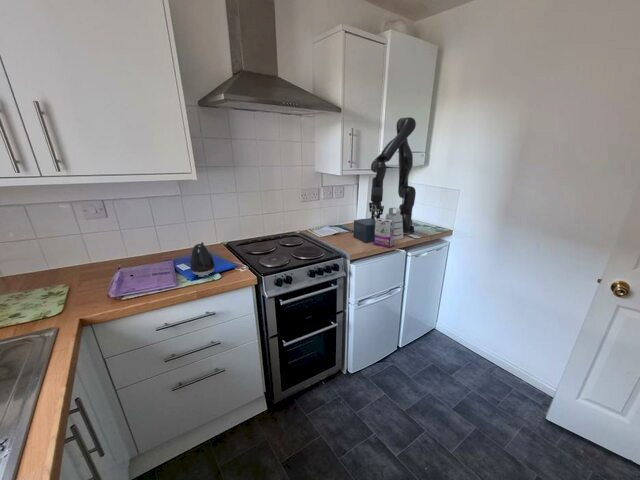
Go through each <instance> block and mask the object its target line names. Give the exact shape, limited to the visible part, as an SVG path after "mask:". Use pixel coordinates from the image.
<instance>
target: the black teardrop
mask: <svg viewBox="0 0 640 480" xmlns="http://www.w3.org/2000/svg"><path fill="white" fill-rule="evenodd" d="M189 260H190V261H189V266H190V271H191V272H192V273H193V275H194V274H195V275H194V276H196V275H198V276H197V277H199V278H205V277H206V278H207V277H209V276H210V275H212V274H213V273H214V270H215V268H216V263H215V261H214V258H213V256H212V253H211V252H210V250H209V248H208V247H207V246H206V245H205V243H204V242H203V241H202V242H201V243H197V244H195V245H194V246H193V247H192V249H191V253H190V259H189ZM212 272H213V273H212ZM210 273H212V274H210ZM208 274H210V275H208ZM204 275H207V276H204Z"/></svg>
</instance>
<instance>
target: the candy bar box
mask: <svg viewBox="0 0 640 480" xmlns="http://www.w3.org/2000/svg"><path fill="white" fill-rule="evenodd" d="M394 222H395V220H392V219H391V220H388V219H386V218H381V217H380V218H378V219H376V218H375V236H374V242H373V245H375V246H380V247H385V248H391V247H393V246H394V240H393V236H395V235H394Z"/></svg>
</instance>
